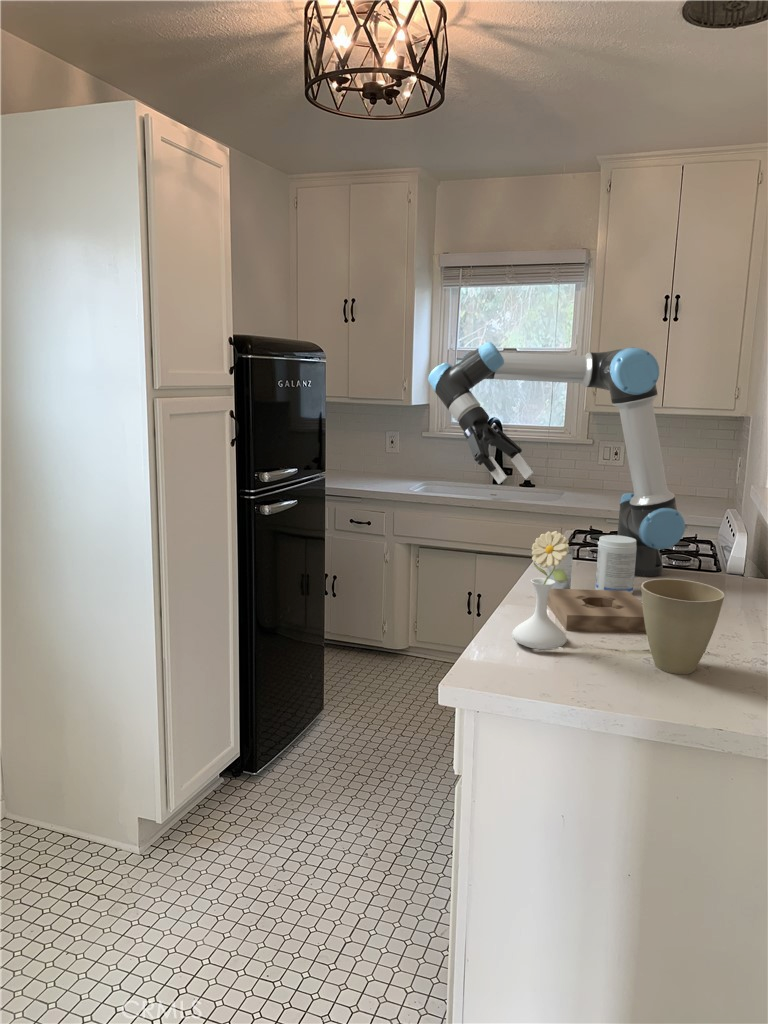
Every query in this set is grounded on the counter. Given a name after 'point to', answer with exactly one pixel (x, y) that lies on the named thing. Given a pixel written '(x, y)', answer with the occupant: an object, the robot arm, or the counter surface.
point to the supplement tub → (616, 563)
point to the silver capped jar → (567, 568)
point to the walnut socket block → (597, 610)
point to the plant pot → (679, 621)
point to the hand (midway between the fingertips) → (516, 478)
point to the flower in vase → (544, 595)
